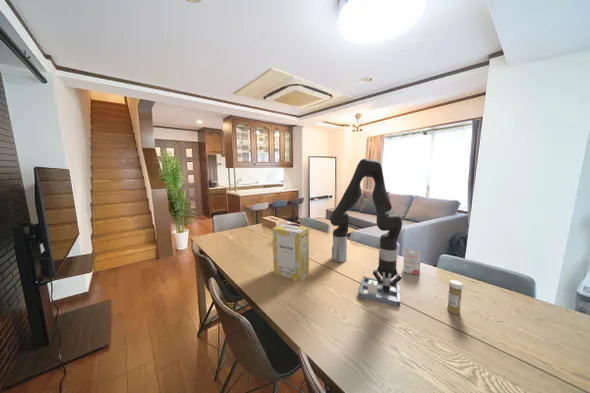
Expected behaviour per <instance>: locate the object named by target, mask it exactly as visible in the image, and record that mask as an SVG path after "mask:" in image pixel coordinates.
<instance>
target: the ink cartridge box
mask: <svg viewBox="0 0 590 393" xmlns="http://www.w3.org/2000/svg"><path fill="white" fill-rule="evenodd" d="M421 257H422V256H421V250H418V249H412V248H404V251H403V268H402V269H403V270H402V271H403V273H406V274H407V273H408V274H413V275H418V276H419V275H421Z"/></svg>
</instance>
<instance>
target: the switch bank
mask: <svg viewBox="0 0 590 393" xmlns="http://www.w3.org/2000/svg"><path fill="white" fill-rule="evenodd" d="M369 280H374V281H378V280H377V279H376V277H368V276H362V279H361V283H360V285H359V290H358V296H357V297H358V298H359V299H362V300H366V301H369V302H370V301H371V302H376V303H380V304H383V305H388V306H392V307H398V308H401V294H400V293H401V292H400V291H401V289H400V282H397V283H396V284H395V285H394V286H392V285H391V290H390V289H389V292H388V293H384V291H383V288H382V283H379V282H378V283H377V295H372V294H368V282H369Z"/></svg>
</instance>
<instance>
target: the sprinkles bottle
mask: <svg viewBox="0 0 590 393" xmlns="http://www.w3.org/2000/svg"><path fill="white" fill-rule="evenodd" d="M448 285H449V287H448V288H449V289H448V295H447V296H448V298H447V307H446V310H447V311H448V312H450V313H451V314H453V315H460V313H461V304H462V293H463V292H462V291H463V290H462V289H463V287H464V284H463V283H462V282H461V281H459V280H456V279H450V280H449V284H448Z"/></svg>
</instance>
